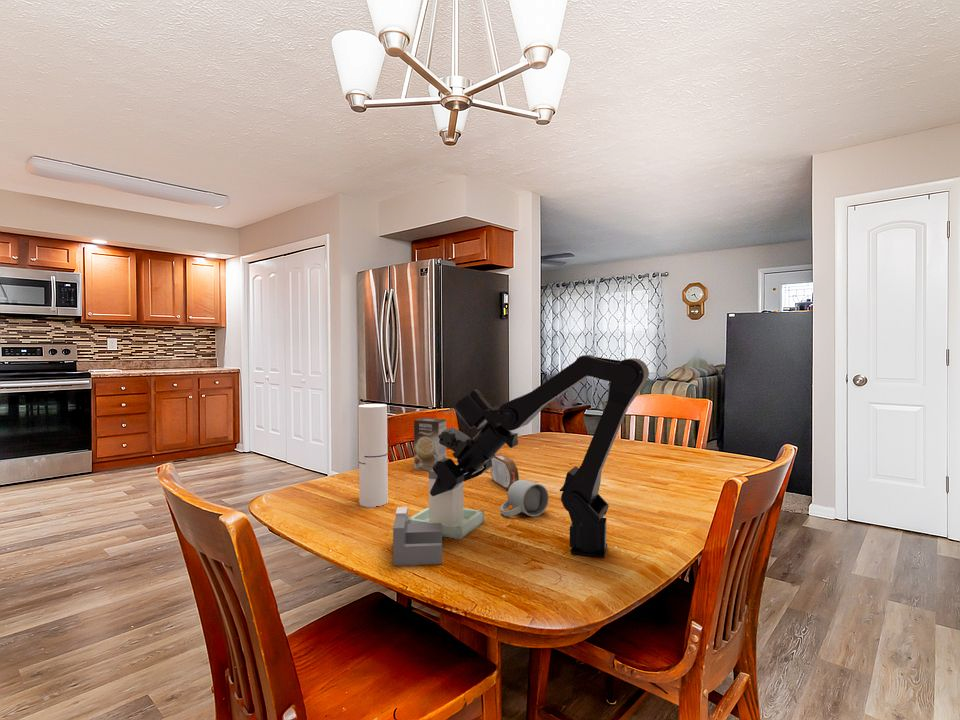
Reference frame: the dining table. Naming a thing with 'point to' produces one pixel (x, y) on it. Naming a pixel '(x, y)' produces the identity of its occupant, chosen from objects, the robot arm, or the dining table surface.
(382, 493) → the cylindrical container
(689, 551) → the dining table surface
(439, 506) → the block
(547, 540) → the dining table surface
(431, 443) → the coffee box
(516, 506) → the ceramic mug
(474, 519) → the tray
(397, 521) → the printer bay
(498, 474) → the tin
